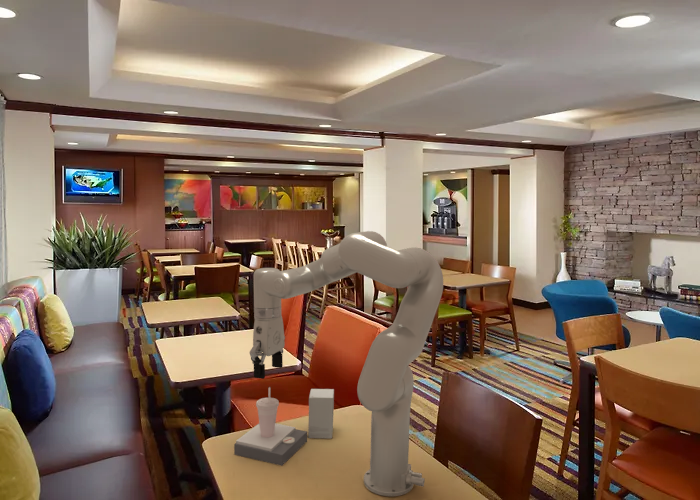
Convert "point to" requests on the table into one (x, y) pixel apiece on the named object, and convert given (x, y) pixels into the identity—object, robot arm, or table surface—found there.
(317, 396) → the supplement box
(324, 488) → the table surface
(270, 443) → the scale
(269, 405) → the smoothie
